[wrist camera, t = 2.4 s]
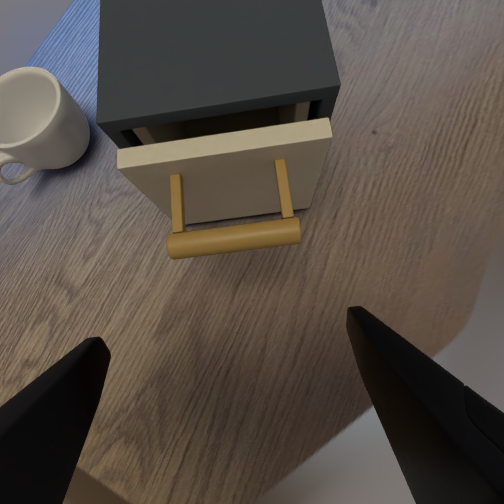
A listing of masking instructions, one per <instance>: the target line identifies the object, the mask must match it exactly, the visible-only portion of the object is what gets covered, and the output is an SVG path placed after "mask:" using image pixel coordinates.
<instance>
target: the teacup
mask: <svg viewBox="0 0 504 504" xmlns="http://www.w3.org/2000/svg"><path fill="white" fill-rule="evenodd" d="M89 139H90V130H89V125H88V122H87V119H86V117H85V115H84V113H83V111H82V110H81V108H80V107H79V105H78V104H77V103H76V101H75V100H74V99H73V98H72V96H71V95H70V94H69V93H68V91H67V90H66V89H65V88H64V87H63V86H62V84H61V83H60V82H59V81H58V80H57V79H56V78H55V77H54V76H53V75H52V74H51V73H50V72H48V71H47V70H45V69H42V68H38V67H22V68H18V69H15V70H12V71H9V72H7V73H5V74H4V75H2V76H0V181H1V182H3V183H5V184H9V185H15V184H18V183H21V182H23V181H25V180H26V179H28V178H29V177H31V176H32V175H33V174H34V173H36V172H37V171H39V170H41V169H59V168H63V167H67V166H69V165H71V164H73V163H74V162H76V161H77V160H78V159H79V158H80V157H81V156H82V155H83V154H84V153H85V151H86V149H87V147H88V144H89ZM9 163H23V164H24V166H25V168H24V170H23V172H22V173H21V174H20V175H19V176H18V177H16V178H14V179H10V180H8V179H6V178H4V177H3V176H2V175H1V167H2V166H3V165H5V164H9Z"/></svg>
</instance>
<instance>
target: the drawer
mask: <svg viewBox="0 0 504 504" xmlns="http://www.w3.org/2000/svg"><path fill="white" fill-rule="evenodd" d="M309 106H310V101H309V102H302V103H296V104H289V105H283V106H277V107H270V108H264V109H257V110H251V111H244V112H238V113H232V114H225V115H219V116H212V117H206V118H199V119H193V120H187V121H180V122H174V123H167V124H161V125H154V126H148V127H142V128H135V129H132V130H133V131H134V133H135V134H136V135H137V136H138V138H139V139H140V140H141V142H142V143H143V144H144V145H143V146H137V147H130V148H124V149H118V150H117V169H118V170H119V171H120V172H121V173H122V174H123V175H124V176H125V177H126V178H127V179H129V180H130V181H131V182H132V183H133V184H134V185H135V186H136V187H137V188H138V189H139V190H140V191H141V192H143V193H144V194H145V195H146V196H147V197H148V198H149V199H150V200H151V201H152V202H153V203H154V204H156V205H157V206H158V207H159V208H160V209H161V210H162V211H163V212H164V213H165V214H166V215H167V216H168V217H170V218H171V219H172V232H173V233H174V234H169V235H168V237H167V242H166V244H167V251H168V254H169V256H170V258H171V259H182V258H190V257H198V256H206V255H214V254H222V253H230V252H237V251H245V250H253V249H261V248H269V247H277V246H285V245H293V244H300V243H301V227H300V222H299V219H298V218H297V217H295V218H293V217H294V213H293V210H297V209H304V208H310V205H311V202H312V199H313V196H314V193H315V190H316V187H317V184H318V180H319V177H320V174H321V171H322V168H323V165H324V162H325V159H326V156H327V153H328V150H329V147H330V144H331V141H332V137H333V136H332V131H331V126H330V121H329V118H321V119H315V120H308V121H307V118H308V112H309ZM274 212H281V214H282V219H280V220H273V221H265V222H257V223H250V224H242V225H235V226H227V227H220V228H212V229H205V230H197V231H189V232H186V226H185V224H192V223H200V222H207V221H215V220H222V219H230V218H237V217H245V216H252V215H260V214H267V213H274Z"/></svg>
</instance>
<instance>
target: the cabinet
mask: <svg viewBox="0 0 504 504" xmlns="http://www.w3.org/2000/svg"><path fill="white" fill-rule="evenodd" d="M340 86H341V84H340V79H339V75H338V71H337V66H336V62H335V58H334V53H333V49H332V44H331V40H330V36H329V31H328V27H327V23H326V18H325V14H324V10H323V5H322V1H321V0H100V27H99V58H98V88H97V118H96V123H97V125H98V126H99V127H100V128H101V129H102V130H103V131H104V132H105V133H106V134H107V135H108V136H109V137H110V138H111V140H112V141H113V142H114V143H115V144H116V145H117V146H118V147H119V148H120V149H124V148H130V147H137V146H143V145H144V144H143V143H142V142H141V140H140V139H139V138H138V136H137V135H136V134H135V133H134V131H133V130H132V129H135V128H142V127H148V126H154V125H161V124H167V123H174V122H180V121H187V120H193V119H199V118H206V117H212V116H219V115H225V114H232V113H238V112H244V111H251V110H257V109H264V108H270V107H277V106H283V105H289V104H296V103H302V102H309V101H310V106H309V112H308V118H307V121H308V120H315V119H321V118H329V121H330V119H331V116H332V112H333V109H334V105H335V102H336V98H337V96H338V93H339V89H340Z"/></svg>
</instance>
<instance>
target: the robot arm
mask: <svg viewBox="0 0 504 504" xmlns="http://www.w3.org/2000/svg"><path fill="white" fill-rule="evenodd" d="M346 327H347V332H348V335H349V339H350V342H351V345H352V349H353V352H354V355H355V358H356V362H357V365H358V368H359V371H360V374H361V377H362V380H363V382H364V384H365V387H366V389H367V391H368V394H369V396H370V398H371V401H372V403H373V405H374V408H375V410H376V412H377V414H378V417H379V419H380V421H381V424H382V426H383V428H384V430H385V433H386V435H387V438H388V440H389V442H390V444H391V447H392V449H393V451H394V454H395V456H396V458H397V461H398V463H399V465H400V468H401V470H402V472H403V475H404V477H405V479H406V482H407V484H408V486H409V488H410V491H411V493H412V495H413V498H414V500H415V502H416V504H504V413H503V412H502V411H500V410H499V409H498V408H496V407H495V406H494V405H492V404H491V403H489V402H488V401H487V400H485V399H484V398H482V397H481V396H480V395H479V394H477V393H476V392H474V391H473V390H472V389H471V388H469V387H468V386H464V384H463V383H462V382H461V381H460V380H458V379H457V378H456V377H454V376H453V375H452V374H451V373H449V372H448V371H447V370H445V369H444V368H443V367H441V366H440V365H439V364H437V363H436V362H434V361H433V360H432V359H431V358H429V357H428V356H427V355H425V354H424V353H423V352H421V351H420V350H419V349H417V348H416V347H415V346H413V345H412V344H411V343H409V342H408V341H407V340H405V339H404V338H403V337H401V336H400V335H399V334H397V333H396V332H395V331H393V330H392V329H391V328H390V327H388V326H387V325H386V324H384V323H383V322H382V321H380V320H379V319H378V318H376V317H375V316H374V315H372V314H371V313H370V312H368V311H367V310H366V309H364V308H363V307H361V306H353V307H349V308H348V309H347V321H346ZM110 359H111V353H110V351H109V349H108V347H107V346H106V344H105V343H104V341H103V339H102V338H100V337H91V338H87V339H85V340H84V341H83V342H81V343H80V344H79V345H78V346H76V347H75V348H74V349H73V350H71V351H70V352H69V353H68V354H66V355H65V356H64V357H63V358H61V359H60V360H59V361H58V362H56V363H55V364H54V365H53V366H51V367H50V368H49V369H48V370H46V371H45V372H44V373H43V374H41V375H40V376H39V377H38V378H36V379H35V380H34V381H33V382H31V383H30V384H29V385H27V386H26V387H25V388H24V389H22V390H21V391H20V392H19V393H17V394H16V395H15V396H14V397H12V398H11V399H10V400H9V401H7V402H6V403H5V404H4V405H2V406H1V407H0V504H62V503H63V500H64V498H65V495H66V492H67V490H68V487H69V484H70V481H71V479H72V476H73V473H74V470H75V468H76V465H77V462H78V459H79V457H80V454H81V451H82V448H83V446H84V443H85V440H86V437H87V435H88V432H89V429H90V427H91V424H92V421H93V418H94V416H95V413H96V410H97V407H98V404H99V401H100V397H101V394H102V390H103V386H104V382H105V378H106V374H107V371H108V367H109V363H110Z"/></svg>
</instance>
